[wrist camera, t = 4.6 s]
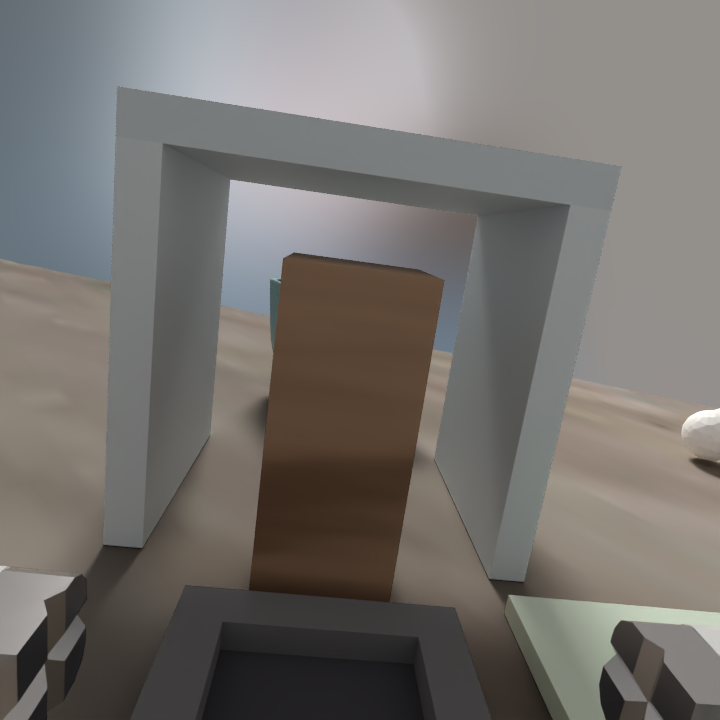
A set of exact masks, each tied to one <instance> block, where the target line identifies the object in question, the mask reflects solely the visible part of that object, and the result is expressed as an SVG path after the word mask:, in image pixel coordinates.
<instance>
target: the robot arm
mask: <svg viewBox="0 0 720 720" xmlns="http://www.w3.org/2000/svg"><path fill="white" fill-rule="evenodd" d="M86 600H87V586H86V579H85V577H84V576H83V575H82V574H76V573H67V572H57V571H48V570H39V569H29V568H20V567H7V566H0V720H47V712H48V711H49V710H51V709H52V708H54V707H55V706H56V705H58V704H59V703H61V702H62V701H64V699H65V698H66V696H67V694H68V692H69V690H70V688H71V687H72V685H73V683H74V681H75V678H76V675H77V672H78V669H79V667H80V664H81V661H82V657H83V652H84V646H85V639H86V626H85V624H84V623H83V622H82V620H81V619H80V618H79V616H78V615H77V614H78V612H79V611H80V609H81V608H82V606H83V605H84V603H85V602H86ZM610 642H611V645H612V647H613V649H614V651H615V653H616V655H615V656H614V657H613V658H611V659H610V660H609V661H608V662H607V663H606V664H605V665H604V666H603V669H602V673H601V678H600V682H599V691H600V702H601V707H602V710H603V713H604V716H605V719H606V720H720V629H719V628H717V627H715V626H713V625H698V624H681V625H677V624H665V623H652V622H640V621H627V620H621V621H620V622H619V623H618V624H617V625H616V627H615V628H614V631H613V634H612V637H611V641H610Z"/></svg>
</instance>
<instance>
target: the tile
mask: <svg viewBox="0 0 720 720" xmlns="http://www.w3.org/2000/svg"><path fill="white" fill-rule="evenodd" d="M504 614H505V616H506V618H507V620H508V623H509V625H510V627H511V629H512V631H513V634H514V636H515V638H516V640H517V642H518V645H519V647H520V649H521V651H522V653H523V656H524V658H525V660H526V662H527V664H528V667H529V669H530V671H531V673H532V675H533V677H534V680H535V682H536V684H537V686H538V688H539V691H540V693H541V695H542V697H543V699H544V702H545V704H546V706H547V708H548V710H549V713H550V715H551V717H552V719H553V720H606V719H605V716H604V713H603V710H602V707H601V702H600V691H599V682H600V678H601V673H602V669H603V666H604V665H605V664H606V663H607V662H608V661H609V660H610V659H611V658H613V657H614V656H615V655H616V653H615V651H614V649H613V647H612V645H611V642H610V641H611V637H612V634H613V631H614V628H615V627H616V625H617V624H618V623H619V622H620V621H621V620H627V621H640V622H652V623H665V624H677V625H681V624H698V625H713V626H715V627H717V628H719V629H720V613H714V612H702V611H690V610H679V609H667V608H656V607H644V606H632V605H621V604H609V603H598V602H586V601H574V600H563V599H551V598H540V597H528V596H516V595H508V599H507V603H506V608H505V612H504Z"/></svg>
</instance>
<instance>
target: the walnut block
mask: <svg viewBox="0 0 720 720" xmlns="http://www.w3.org/2000/svg"><path fill="white" fill-rule="evenodd" d="M443 286H444V280H443V279H440V278H438V277H435V276H433V275H431V274H428V273H426V272H422V271H421V270H417V269H410V268H403V267H396V266H388V265H381V264H374V263H366V262H359V261H352V260H344V259H337V258H329V257H323V256H315V255H308V254H301V253H293V254H291V255H289V256H287V257H285V258H283V265H282V275H281V285H280V294H279V304H278V314H277V324H276V333H275V343H274V353H273V363H272V372H271V382H270V392H269V402H268V411H267V421H266V431H265V441H264V450H263V460H262V470H261V480H260V489H259V499H258V509H257V519H256V528H255V538H254V548H253V558H252V567H251V577H250V587H249V591H260V592H272V593H284V594H296V595H308V596H320V597H332V598H344V599H356V600H368V601H380V602H389V601H390V596H391V590H392V584H393V578H394V572H395V566H396V561H397V555H398V549H399V543H400V537H401V531H402V526H403V520H404V514H405V508H406V502H407V496H408V490H409V485H410V479H411V473H412V467H413V461H414V455H415V450H416V444H417V438H418V432H419V426H420V420H421V414H422V409H423V403H424V397H425V391H426V385H427V379H428V374H429V368H430V362H431V356H432V350H433V344H434V338H435V333H436V327H437V321H438V315H439V309H440V303H441V298H442V291H443Z"/></svg>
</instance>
